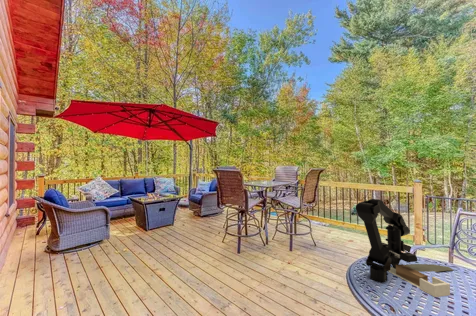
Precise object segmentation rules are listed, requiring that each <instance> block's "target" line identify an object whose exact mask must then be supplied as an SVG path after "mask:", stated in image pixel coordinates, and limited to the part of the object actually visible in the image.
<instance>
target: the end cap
mask: <svg viewBox="0 0 476 316" xmlns="http://www.w3.org/2000/svg"><path fill="white" fill-rule="evenodd" d="M419 280H420V288H419V290H421V291H423V292H425V293H427V294H428V295H430V296H432V297H434V298H439V297H440V298H441V297H446V295H447V296H451V289H450V286H451V285H450V283H448V282H447V281H444V280H442V279H440V278H438V277H435V276H432V277H431V282H430V281H429V280H428V281H426V280H424V279H422V278H420V279H419Z"/></svg>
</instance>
